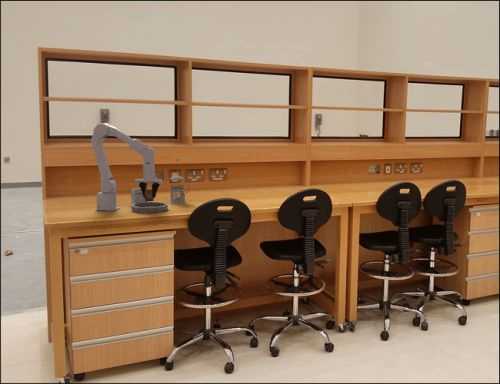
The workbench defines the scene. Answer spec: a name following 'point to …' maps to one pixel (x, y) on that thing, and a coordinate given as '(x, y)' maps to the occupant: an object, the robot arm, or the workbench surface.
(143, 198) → the medicine box
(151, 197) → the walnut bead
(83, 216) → the workbench surface
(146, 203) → the round tray
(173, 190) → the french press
